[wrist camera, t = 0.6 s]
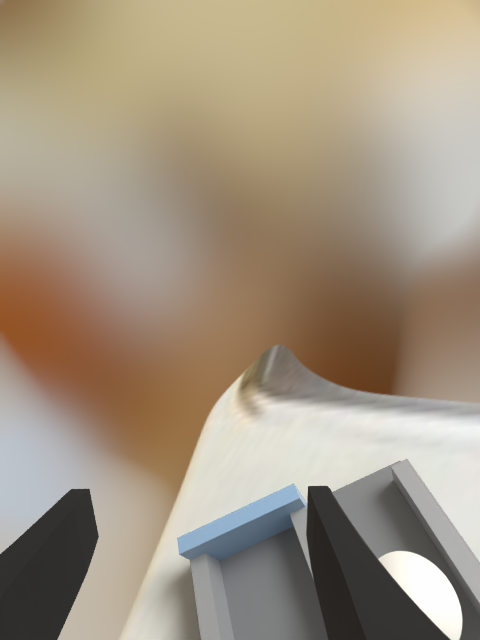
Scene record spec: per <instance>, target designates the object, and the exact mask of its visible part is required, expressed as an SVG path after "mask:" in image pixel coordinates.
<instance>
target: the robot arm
mask: <svg viewBox="0 0 480 640" xmlns="http://www.w3.org/2000/svg"><path fill="white" fill-rule="evenodd" d="M98 537H99V536H98V531H97V526H96V521H95V515H94V510H93V505H92V501H91V495H90V490H89V489H71V490H70V491H69V492H68V493H66V494H65V495H64V496H63V497H62V498H61V499H60V500H59V501H58V502H57V503H56V504H55V505H54V506H53V507H52V508H50V509H49V511H47V512H46V513H45V514H44V515H43V516H42V517H41V518H40V519H39V520H38V521H37V522H36V523H35V524H33V525H32V526H31V527H30V528H29V529H28V530H27V531H26V532H25V533H24V534H23V535H21V536H20V537H19V538H18V539H17V540H16V541H15V542H14V543H13V544H12V545H11V546H9V547H8V548H7V549H6V550H5V551H3V552H2V553H1V554H0V640H57V639H58V637H59V635H60V632H61V630H62V628H63V626H64V623H65V621H66V619H67V617H68V615H69V612H70V610H71V608H72V605H73V603H74V601H75V599H76V596H77V594H78V592H79V590H80V587H81V585H82V583H83V581H84V578H85V576H86V574H87V571H88V568H89V565H90V562H91V559H92V556H93V553H94V550H95V547H96V543H97V540H98ZM306 537H307V544H308V551H309V557H310V564H311V570H312V575H313V579H314V583H315V587H316V591H317V595H318V599H319V603H320V608H321V612H322V616H323V620H324V624H325V628H326V632H327V636H328V640H451V639H450V638H449V637H448V636H447V635H445V634H444V633H443V632H442V631H441V630H440V629H439V628H438V627H437V626H436V625H435V623H434V622H433V621H432V620H431V619H430V618H429V617H428V616H427V615H426V614H425V613H424V612H423V611H422V610H421V609H420V608H419V607H418V606H417V604H416V603H415V602H414V601H413V600H412V599H411V598H410V597H409V596H408V595H407V593H406V592H405V591H404V590H403V589H402V588H401V587H400V585H399V584H398V583H397V582H396V581H395V579H394V578H393V577H392V576H391V575H390V573H389V572H388V571H387V570H386V568H385V567H384V566H383V565H382V564H381V562H380V561H379V560H378V558H377V557H376V556H375V555H374V553H373V552H372V551H371V549H370V548H369V547H368V545H367V544H366V543H365V541H364V540H363V538H362V537H361V536H360V534H359V533H358V532H357V530H356V529H355V527H354V526H353V524H352V523H351V521H350V520H349V518H348V517H347V515H346V514H345V512H344V511H343V509H342V508H341V506H340V505H339V503H338V501H337V500H336V498H335V496H334V495H333V493H332V491H331V490H330V488H329V487H328V486H308V503H307V527H306Z"/></svg>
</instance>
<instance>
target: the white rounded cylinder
mask: <svg viewBox="0 0 480 640" xmlns="http://www.w3.org/2000/svg"><path fill="white" fill-rule="evenodd" d="M378 560H379V561H380V562H381V564H382V565H383V566H384V567H385V568H386V570H387V571H388V572H389V573H390V575H391V576H392V577H393V578H394V579H395V581H396V582H397V583H398V584H399V585H400V587H401V588H402V589H403V590H404V591H405V592H406V593H407V595H408V596H409V597H410V598H411V599H412V600H413V601H414V602H415V603H416V604H417V606H418V607H419V608H420V609H421V610H422V611H423V612H424V613H425V614H426V615H427V616H428V617H429V618H430V619H431V620H432V621H433V622H434V623H435V625H436V626H437V627H438V628H439V629H440V630H441V631H442V632H443V633H444V634H445V635H447V636H448V637H449V638H450V639H451V640H459V639H460V636H461V631H462V612H461V607H460V603H459V600H458V597H457V595H456V592H455V590H454V588H453V587H452V585H451V583H450V582H449V580H448V579H447V577H446V576H445V575H444V574H443V572H442V571H441V570H440V569H439V568H438V567H437V566H435V565H434V564H433V563H432V562H430V561H429V560H427V559H426V558H424V557H422V556H420V555H418V554H415V553H412V552H407V551H395V552H390V553H387V554H385V555H383V556H382V557H380V558H379V559H378Z"/></svg>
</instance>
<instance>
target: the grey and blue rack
mask: <svg viewBox="0 0 480 640" xmlns="http://www.w3.org/2000/svg"><path fill="white" fill-rule="evenodd" d="M332 493H333V495H334V496H335V498H336V500H337V501H338V503H339V505H340V506H341V508H342V509H343V511H344V512H345V514H346V515H347V517H348V518H349V520H350V521H351V523H352V524H353V526H354V527H355V529H356V530H357V532H358V533H359V534H360V536H361V537H362V538H363V540H364V541H365V543H366V544H367V545H368V547H369V548H370V549H371V551H372V552H373V553H374V555H375V556H376V557H377V558H378V559H379V558H380V557H382V556H383V555H385V554H387V553H390V552H395V551H407V552H412V553H415V554H418V555H420V556H422V557H424V558H426V559H427V560H429V561H430V562H432V563H433V564H434V565H435V566H437V567H438V568H439V569H440V570H441V571H442V572H443V574H444V575H445V576H446V577H447V579H448V580H449V582H450V583H451V585H452V587H453V588H454V590H455V592H456V595H457V597H458V600H459V603H460V607H461V612H462V631H461V636H460V639H459V640H480V562H479V561H478V559H477V558H476V556H475V555H474V554H473V552H472V551H471V549H470V548H469V546H468V545H467V544H466V542H465V541H464V539H463V538H462V536H461V535H460V534H459V532H458V531H457V529H456V528H455V526H454V525H453V524H452V522H451V521H450V519H449V518H448V517H447V515H446V514H445V512H444V511H443V509H442V508H441V507H440V505H439V504H438V502H437V501H436V499H435V498H434V497H433V495H432V494H431V492H430V491H429V489H428V488H427V487H426V485H425V484H424V482H423V481H422V479H421V478H420V477H419V475H418V474H417V472H416V471H415V469H414V468H413V467H412V465H411V464H410V462H409V461H408V459H406V460H403V461H398V462H396V463H394V464H392V465H390V466H387V467H385V468H383V469H381V470H379V471H377V472H375V473H372V474H370V475H368V476H366V477H364V478H362V479H360V480H357V481H355V482H353V483H351V484H349V485H347V486H345V487H342V488H340V489H338V490H336V491H334V492H332ZM306 527H307V502H306V501H305V499H304V498H303V496H302V495H301V493H300V492H299V490H298V489H297V487H296V486H295V484H292V485H290V486H287V487H285V488H283V489H281V490H279V491H277V492H275V493H273V494H270V495H268V496H266V497H264V498H262V499H260V500H258V501H256V502H253V503H251V504H249V505H247V506H245V507H243V508H241V509H238V510H236V511H234V512H232V513H230V514H228V515H226V516H224V517H221V518H219V519H217V520H215V521H213V522H211V523H209V524H206V525H204V526H202V527H200V528H198V529H196V530H194V531H192V532H189V533H187V534H185V535H183V536H181V537H179V538H177V539H178V548H179V554H180V555H182V556H183V557H185V558H187V559H189V560H190V564H191V571H192V578H193V586H194V593H195V600H196V607H197V615H198V622H199V629H200V637H201V640H328V636H327V632H326V628H325V624H324V620H323V616H322V612H321V608H320V603H319V599H318V595H317V591H316V587H315V583H314V579H313V575H312V570H311V564H310V557H309V551H308V544H307V537H306Z"/></svg>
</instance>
